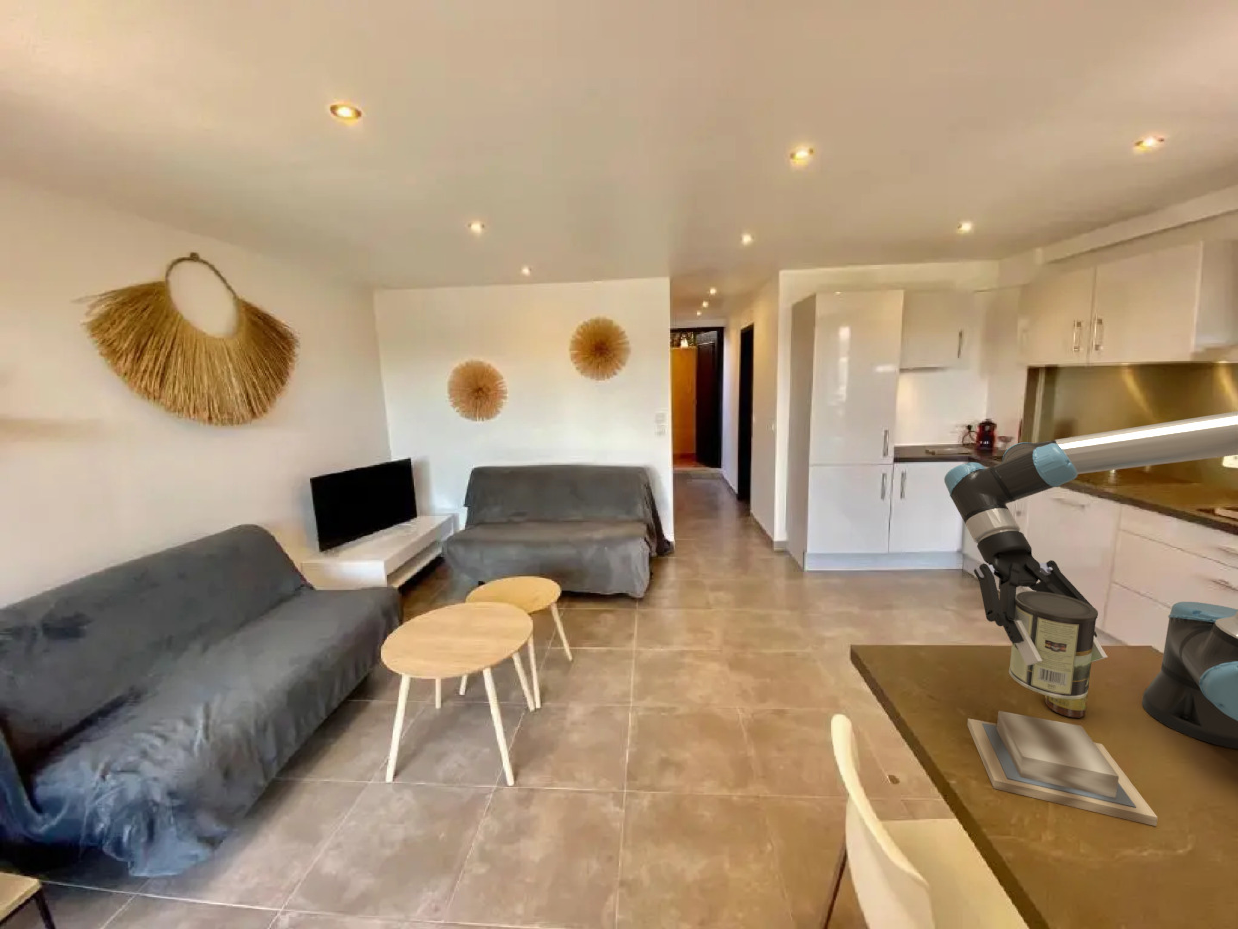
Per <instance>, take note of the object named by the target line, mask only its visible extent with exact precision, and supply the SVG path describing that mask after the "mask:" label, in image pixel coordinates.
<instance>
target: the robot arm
mask: <svg viewBox="0 0 1238 929" xmlns="http://www.w3.org/2000/svg"><path fill="white" fill-rule="evenodd" d="M1231 456H1238V410H1236V411H1231V412H1225V413H1217V414H1212V415H1205V416H1198V417H1193V418H1185V419H1180V420H1174V421H1173V420H1172V421H1166V422H1160V423H1154V424H1148V425H1141V426H1134V427H1128V428H1123V429H1116V430H1110V431H1102V432H1096V433H1095V432H1094V433H1090V434H1089V433H1088V434H1082V435H1076V436H1071V437H1070V436H1069V437H1065V438H1056V439H1053V440H1046V441H1039V442H1029V441H1027V442H1019V443H1015V444H1013V445H1011V446H1009V448H1007V449H1006V450H1005V451H1004V453H1003V456H1002V462H1001V463H998V464H995V465H993V466H990V467H984V465H983V464H981V463H979V462H974V461H973V462H967V463H965V464H963V463H962V464H960V465H957V466H955V467H953V468H951V469H949V470H948V471H947V473H946V474H945V476H944V478H943V479H944V483H945V486H946V489H947V491H948V492H949V497H950V499H951V501H952V502H953V503H954V506H955V507H956V509H957V511H958V513H959V515H960V516H961V518H962V521H963V522H964V524H965V526H966V527H967V530H968V532H969V533H970V536H971V538H972V540H973V542H975V544H977V546H976V548H977V549H978V551H979V553H980V555H981V557H982V559H983V561H984V562H983V563H981V564H980V565H979V566H977V567H975V568H974V569H973V572H974V575H975V576H976V578H977V579H978V580H977V581H978V582H979V587H980V592H981V598H982V602H983V608H984V613H985V618H986V620H987V621H988V622H992V623H993V622H995V624H996V626H998V627H1003V629H1004V631H1005V633H1006V635H1007V637H1008V640H1009V641H1010V643H1011V644H1012V643H1016V645H1017V647H1018V649H1019V651H1020V653H1021V655H1022V657H1023V659H1024V661H1025V663H1026V665H1033V664H1035V663H1038V662H1041V661H1042V659H1041V657H1040V655H1039V653H1038V651H1037V649H1036V648H1035V646H1034V644H1033V642H1032V640H1031V638H1030V636H1029V634H1028V632H1027V631H1026V629H1025V627H1024V625H1023V623H1022V621H1021V620H1018V621H1015V622H1014V620H1015V605H1016V602H1015V596H1016V594H1017V588H1018V587H1021V588H1022V587H1023V588H1030V589H1031V591H1040V592H1049V593H1055V594H1060V595H1065V596H1068V597H1072V598H1075V599H1078V600H1080V601H1083V602H1085V603H1087V604H1089V605H1091V606H1093V605H1092V604H1091V603H1090V602H1089V600H1087V598H1086V597H1085V596H1084V595H1083V594H1082V593H1081V592H1080V590H1078V589H1077V588H1076V587H1075V585H1073V583H1072V582H1071V581H1070V580H1069V578H1067V577H1066V576H1065V575H1064V573H1063V572H1061V569H1060V568H1059V566H1058V564H1057V563H1056V561H1054V560H1051V559H1050V560H1049V561H1047V562H1039V561H1038V560H1036V559H1035V557H1034V556H1033V554H1032V550H1033V549H1032V546H1031V545H1030V543H1029V541H1028V540H1027V538H1026V536H1025V534H1024V533H1023V532H1022V531H1021V527H1020V526H1019V524H1018V522H1017V521H1016V519H1015V518H1014V516H1013V514H1012V513H1011V511H1010V509H1009V507H1008V506H1007V504H1010V503H1013V502H1016V501H1018V500H1021V499H1024V498H1026V497H1030V496H1033V495H1035V494H1038V493H1041V492H1044V491H1048V490H1050V489H1053V488H1058V487H1061V486H1062V485H1063V484H1066V483H1068V482H1070V481H1074V480H1075V479H1077V478H1078V475H1081V474H1090V473H1096V472H1097V473H1099V472H1105V471H1106V472H1107V471H1114V470H1123V469H1132V468H1140V467H1148V466H1157V465H1164V464H1173V463H1174V464H1175V463H1183V462H1190V461H1191V462H1192V461H1198V460H1206V459H1207V460H1208V459H1214V458H1215V459H1216V458H1223V457H1231ZM995 576H996V577H997V578H998V587H997V582H996V578H995ZM998 591H999V592H998ZM1167 617H1168V624H1167V629H1166V630H1167V631H1166V636H1165V642H1164V648H1163V654H1162V655H1163V656H1162V661H1161V667H1160V671H1159V673H1157V675H1156V676H1155V677H1154V678H1153V680H1152V681H1151V683H1150V684H1149V685H1148V686H1147V688H1145V690H1144V692H1143V695H1142V702H1141V705H1142V707H1143V709H1144V710H1145V711H1146V712H1147V713H1148V714H1149V715H1150V716H1152V717H1153V718H1154V719H1155V720H1157V721H1158V722H1160V723H1161V724H1163V725H1165V726H1166V727H1169V728H1170V729H1173V730H1175V731H1177V732H1179V733H1181V734H1184V735H1186V736H1188V737H1191V738H1194V739H1197V740H1199V741H1203V742H1206V743H1209V744H1212V745H1217V746H1220V747H1225V748H1229V749H1238V608H1234V607H1233V608H1232V607H1229V606H1223V605H1218V604H1212V603H1207V602H1197V601H1179V602H1175V603H1174V604H1173V605H1172V607H1171V609H1170V613H1169V614H1168V615H1167ZM1097 638H1098V634H1097V632H1096V631H1095V632H1094V640H1093V648H1092V656H1091V663H1094V662H1096V661H1097V662H1099V661H1100V660H1104V659H1106V658H1107V659H1108V655H1107V654H1106V652H1105V650H1104V649H1103V648H1102V645H1101V644H1100V642H1099V640H1098V639H1097Z"/></svg>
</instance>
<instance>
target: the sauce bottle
mask: <svg viewBox="0 0 1238 929" xmlns="http://www.w3.org/2000/svg"><path fill="white" fill-rule="evenodd" d="M1091 667H1092V663H1091V664H1090V670H1091ZM1090 680H1091V672H1090V673H1089V681H1088V690H1090ZM1088 695H1089V693H1088V694H1087V696H1086V697H1084V698H1081V699H1075V700H1073V699H1072V700H1068V699H1059V698H1054V697H1050V696H1046V695H1044V698H1045V699H1044V700H1045V704H1046V706H1047V707H1048V708H1049V709H1050V710H1051V711H1053V712H1054V713H1057V714H1058V715H1060V716H1061V715H1062V716H1065V717H1068V718H1075V719H1077V718H1078V719H1080V718H1083V717H1084V716H1085V714H1086V710H1087V708H1088V707H1087V706H1088V698H1089V696H1088Z"/></svg>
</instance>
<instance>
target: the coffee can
mask: <svg viewBox="0 0 1238 929" xmlns="http://www.w3.org/2000/svg"><path fill="white" fill-rule="evenodd" d="M1015 602H1016V605H1015V620H1014V622H1015V621H1018V620H1021V621H1022V623H1023V625H1024V627H1025V629H1026V631H1027V632H1028V634H1029V636H1030V638H1031V640H1032V642H1033V644H1034V646H1035V648H1036V649H1037V651H1038V653H1039V655H1040V657H1041V659H1042V661H1041V662H1038V663H1035V664H1033V665H1026V663H1025V661H1024V659H1023V657H1022V655H1021V653H1020V651H1019V649H1018V647H1017V645H1016V643H1012V642H1011V649H1010V650H1011V651H1010V658H1009V659H1010V660H1009V661H1010V662H1009V669H1008V673H1009V676H1010V677H1011V678H1012V679H1013V680H1014V681H1015V682H1016V683H1018V684H1019V685H1020V686H1022V687H1024V688H1026V689H1028V690H1030V691H1033V692H1034V693H1038V694H1040V695H1043V696H1045V695H1046V696H1050V697H1054V698H1059V699H1068V700H1072V699H1073V700H1075V699H1081V698H1084V697H1086V696H1087V694H1088V695H1089V689H1088V681H1089V682H1090V680H1089V673H1090V674H1091V669H1090V664H1091V665H1092V662H1091V656H1092V648H1093V640H1094V632H1096V630H1095V629H1096V622H1097V618H1098V615H1099V612H1098V610H1097V609H1096V608H1095V607H1094V606H1093V605H1092V604H1091V605H1092V606H1091V605H1089V604H1087V603H1085V602H1083V601H1080V600H1078V599H1075V598H1072V597H1068V596H1065V595H1060V594H1055V593H1049V592H1040V591H1034V590H1030V591H1029V590H1028V591H1027V590H1026V591H1020V592H1018V593H1016V596H1015Z"/></svg>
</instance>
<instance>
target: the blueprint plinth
mask: <svg viewBox="0 0 1238 929" xmlns="http://www.w3.org/2000/svg"><path fill="white" fill-rule="evenodd" d="M967 728H968V730H969V733H970V735H971V737H972V740H973V742H974V745H975V746H976V749H977V752H978V754H979V756H980V760H981V762H982V763H983V766H984V768H985V771H986V774H987V776H988V779H989V781H990V783H991V785H992V786H991V787H992V788H993V789H995V790H997V791H1004V792H1008V793H1012V794H1015V795H1016V794H1017V795H1019V796H1025V797H1027V798H1028V797H1029V798H1033V799H1038V800H1042V801H1047V802H1051V803H1055V804H1060V805H1063V806H1068V807H1072V808H1077V809H1081V810H1084V811H1085V810H1086V811H1090V812H1092V813H1093V812H1094V813H1098V814H1102V815H1107V816H1110V817H1115V818H1119V819H1123V820H1128V821H1131V822H1137V823H1141V824H1146V825H1149V826H1153V827H1157V825H1158V824H1157V823H1158V818H1159V817H1158V816H1157V815H1156V813H1155V812H1154V811H1153V809H1152V808H1151V807H1150V805H1149V804H1148V802H1147V801H1146V800H1145V799H1144V797H1142V795H1141V794H1140V792H1139V791H1138V789H1137V788H1136V787H1135V786H1134V784H1133V783H1132V782H1131V781H1130V779H1129V777H1128V776H1127V774H1126V773H1125V772H1124V771H1123V770H1122V769H1121V767H1120V765H1119V764H1118V763H1117V762H1116V761H1115V759H1114V758H1113V757H1112V756H1111V754H1110V753H1109V752H1108V750H1107V749H1106V747H1105V746H1104V745H1103V744H1102V743H1098V742H1094V741H1093V740H1092V738H1091V737H1090V735H1089V733H1088V732H1086V730H1085V729H1084V727H1083V726H1082V725H1078V724H1074V723H1069V722H1062V721H1057V720H1051V719H1046V718H1039V717H1036V716H1035V717H1034V716H1030V715H1024V714H1018V713H1012V712H1008V711H1003V710H998V713H997V723H994V722H988V721H985V720H979V719H973V718H967Z"/></svg>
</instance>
